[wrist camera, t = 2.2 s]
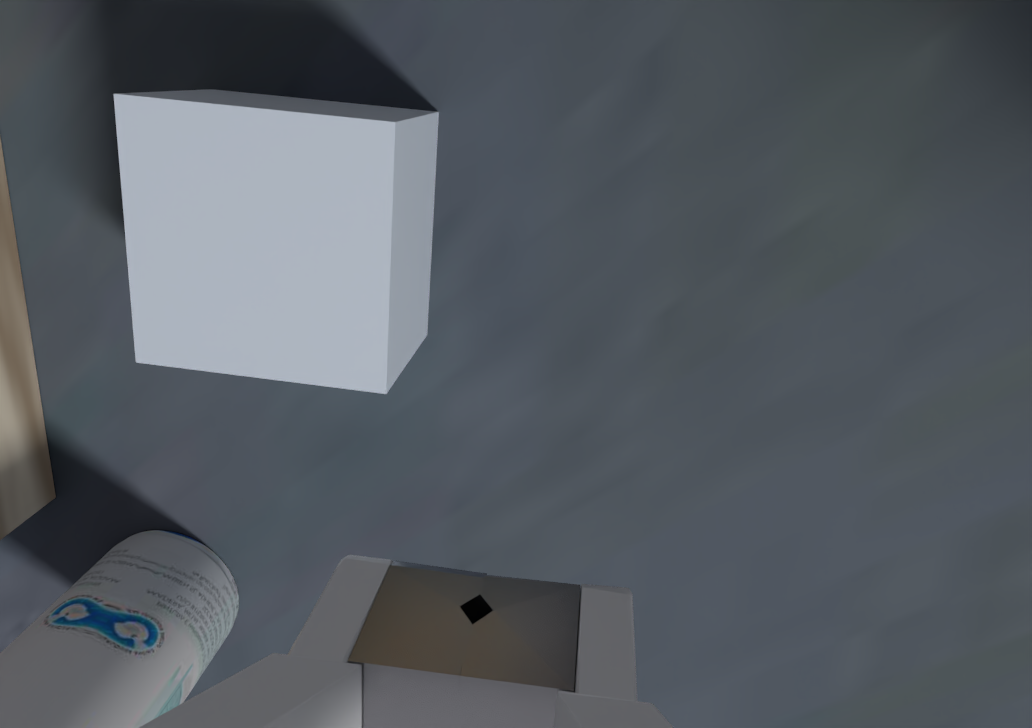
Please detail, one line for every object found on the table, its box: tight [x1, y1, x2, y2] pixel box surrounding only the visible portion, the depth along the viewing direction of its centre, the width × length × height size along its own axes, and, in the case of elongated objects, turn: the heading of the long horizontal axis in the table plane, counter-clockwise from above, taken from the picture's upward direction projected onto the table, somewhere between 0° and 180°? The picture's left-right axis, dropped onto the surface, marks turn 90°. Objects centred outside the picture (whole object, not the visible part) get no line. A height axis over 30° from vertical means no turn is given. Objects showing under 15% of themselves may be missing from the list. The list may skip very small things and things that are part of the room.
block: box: [114, 89, 439, 394], centre depth 26 cm, size 8×8×6 cm
